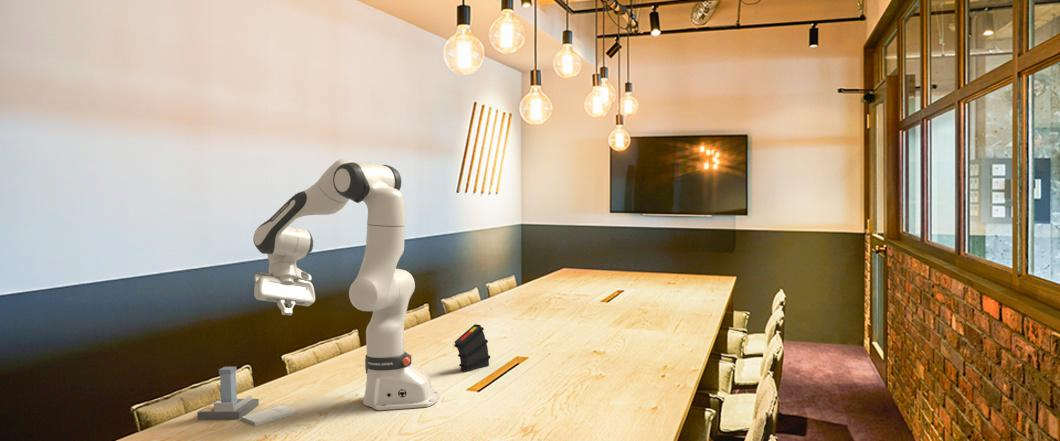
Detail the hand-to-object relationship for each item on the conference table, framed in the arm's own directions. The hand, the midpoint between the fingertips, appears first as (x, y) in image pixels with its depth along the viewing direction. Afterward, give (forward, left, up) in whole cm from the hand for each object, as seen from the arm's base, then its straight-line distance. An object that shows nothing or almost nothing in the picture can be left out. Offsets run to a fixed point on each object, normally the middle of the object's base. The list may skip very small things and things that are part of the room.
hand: (287, 314), depth 215 cm
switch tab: (+7, +25, -22) cm, 34 cm away
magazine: (-56, -21, -24) cm, 65 cm away
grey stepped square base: (+9, +23, -24) cm, 34 cm away
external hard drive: (-5, +27, -25) cm, 37 cm away
